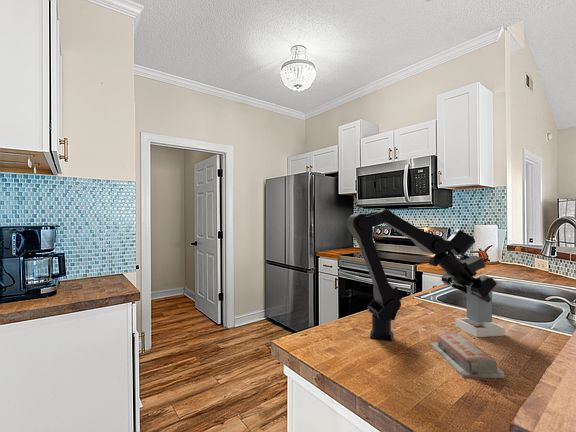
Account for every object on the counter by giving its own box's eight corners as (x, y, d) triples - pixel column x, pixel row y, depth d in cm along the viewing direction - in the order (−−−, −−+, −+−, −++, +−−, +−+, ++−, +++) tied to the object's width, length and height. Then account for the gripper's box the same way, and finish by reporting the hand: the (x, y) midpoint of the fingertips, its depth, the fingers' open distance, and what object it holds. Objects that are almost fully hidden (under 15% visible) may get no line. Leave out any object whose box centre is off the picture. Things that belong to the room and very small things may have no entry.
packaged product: (506, 359, 70) (462, 359, 71) (506, 380, 70) (462, 379, 71) (464, 329, 88) (429, 329, 89) (464, 346, 88) (429, 346, 89)
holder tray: (476, 337, 94) (476, 329, 94) (455, 325, 103) (455, 318, 103) (504, 335, 95) (504, 327, 95) (481, 324, 105) (481, 317, 105)
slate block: (477, 322, 96) (477, 281, 96) (466, 317, 101) (466, 278, 101) (492, 322, 97) (492, 281, 97) (480, 316, 102) (480, 278, 102)
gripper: (490, 251, 89) (524, 287, 91) (449, 245, 108) (477, 275, 109) (466, 278, 88) (500, 315, 90) (428, 267, 107) (457, 298, 108)
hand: (483, 298), depth 99 cm, fingers closed on slate block, 5 cm apart
